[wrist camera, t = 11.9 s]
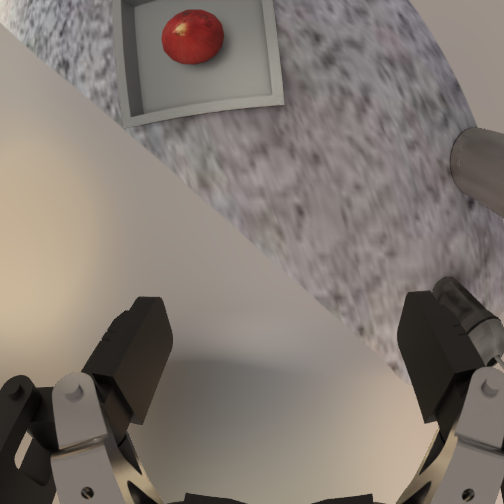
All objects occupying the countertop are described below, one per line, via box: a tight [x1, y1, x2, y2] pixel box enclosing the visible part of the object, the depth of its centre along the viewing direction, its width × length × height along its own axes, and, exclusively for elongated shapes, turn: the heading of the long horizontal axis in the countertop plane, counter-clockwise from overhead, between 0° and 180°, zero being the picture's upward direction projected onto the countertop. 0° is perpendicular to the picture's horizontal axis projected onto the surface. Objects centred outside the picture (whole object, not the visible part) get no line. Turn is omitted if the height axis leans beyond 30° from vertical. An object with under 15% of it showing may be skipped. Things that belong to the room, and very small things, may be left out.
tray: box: [113, 0, 284, 129], centre depth 24 cm, size 16×16×4 cm
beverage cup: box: [433, 277, 504, 369], centre depth 29 cm, size 7×7×20 cm
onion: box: [161, 9, 224, 65], centre depth 22 cm, size 6×6×8 cm
